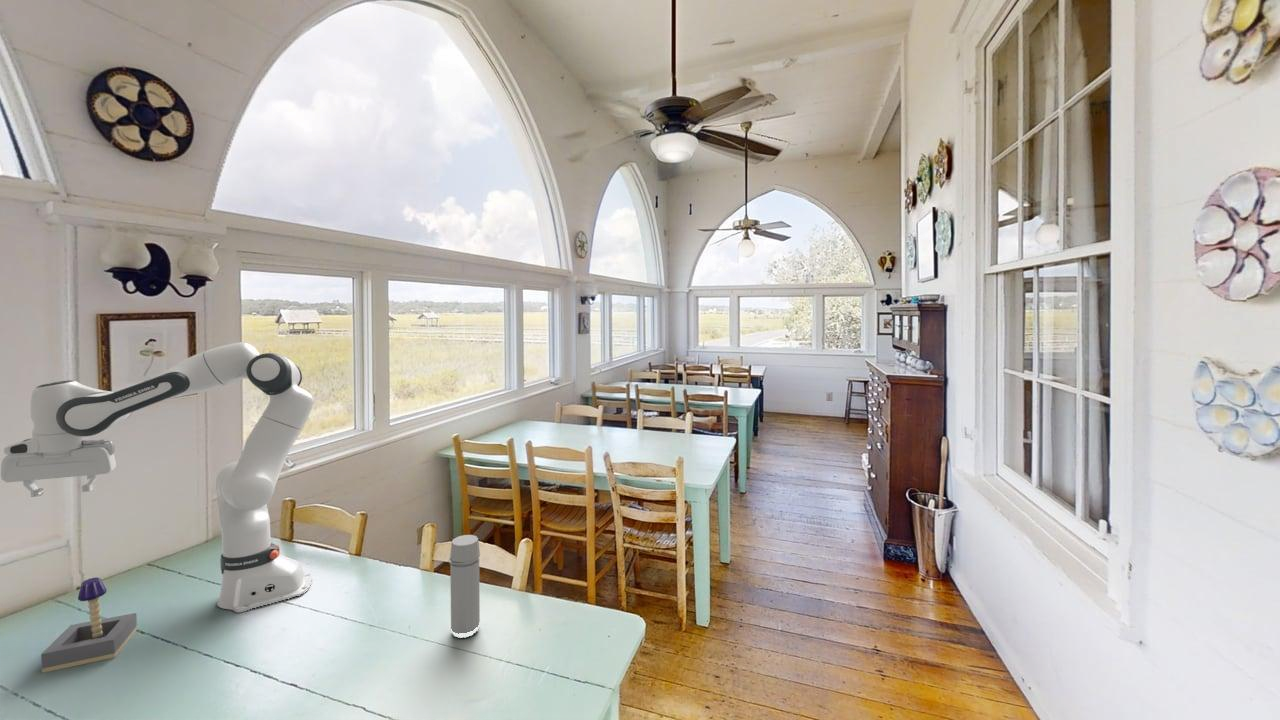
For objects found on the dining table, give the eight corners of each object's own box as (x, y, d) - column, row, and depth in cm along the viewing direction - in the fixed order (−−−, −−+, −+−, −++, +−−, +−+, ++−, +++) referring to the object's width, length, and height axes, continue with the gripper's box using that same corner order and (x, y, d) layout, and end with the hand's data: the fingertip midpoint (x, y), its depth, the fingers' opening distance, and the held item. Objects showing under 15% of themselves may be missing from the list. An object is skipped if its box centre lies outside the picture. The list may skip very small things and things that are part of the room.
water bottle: (486, 630, 131) (486, 539, 129) (459, 645, 125) (458, 549, 123) (467, 616, 137) (466, 529, 135) (440, 630, 131) (439, 538, 129)
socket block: (137, 629, 128) (136, 612, 128) (114, 657, 118) (113, 639, 118) (71, 642, 123) (70, 625, 123) (42, 672, 112) (41, 654, 112)
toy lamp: (90, 653, 118) (86, 586, 116) (76, 650, 119) (71, 583, 117) (115, 640, 122) (111, 576, 121) (101, 637, 123) (97, 573, 122)
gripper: (119, 436, 137) (122, 484, 138) (11, 443, 128) (15, 495, 129) (108, 441, 132) (111, 491, 133) (-6, 448, 122) (-2, 503, 123)
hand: (62, 493), depth 131 cm, fingers open, 8 cm apart
